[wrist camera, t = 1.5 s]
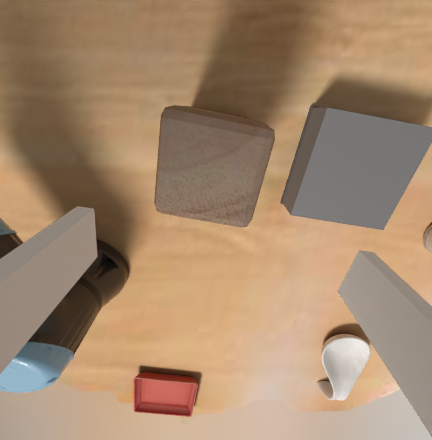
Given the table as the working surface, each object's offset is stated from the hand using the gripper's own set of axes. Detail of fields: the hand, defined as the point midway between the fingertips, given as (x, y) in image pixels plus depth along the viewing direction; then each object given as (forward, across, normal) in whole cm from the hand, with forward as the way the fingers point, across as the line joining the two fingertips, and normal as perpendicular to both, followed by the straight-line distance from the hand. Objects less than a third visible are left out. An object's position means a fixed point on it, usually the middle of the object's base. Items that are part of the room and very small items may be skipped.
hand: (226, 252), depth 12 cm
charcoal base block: (+30, +21, +1) cm, 37 cm away
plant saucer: (+31, -4, -72) cm, 79 cm away
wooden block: (+31, -1, +1) cm, 31 cm away
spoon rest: (+31, +40, -48) cm, 70 cm away
